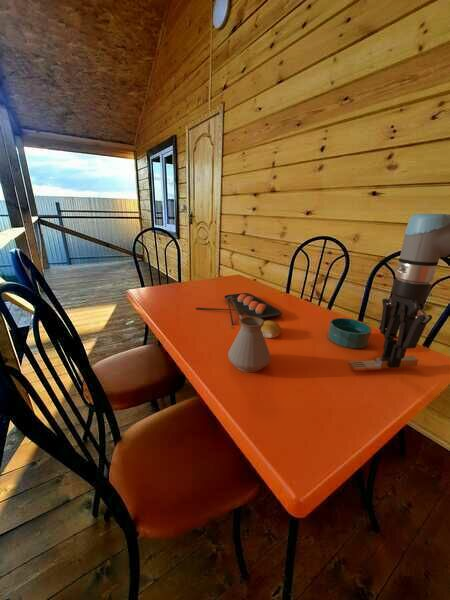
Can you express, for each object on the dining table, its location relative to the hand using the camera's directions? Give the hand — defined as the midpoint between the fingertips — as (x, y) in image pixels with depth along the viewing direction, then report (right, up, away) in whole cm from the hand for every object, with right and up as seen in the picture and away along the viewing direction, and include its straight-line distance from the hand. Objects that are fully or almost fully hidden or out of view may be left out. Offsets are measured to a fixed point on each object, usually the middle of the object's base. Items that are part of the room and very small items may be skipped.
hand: (389, 363), depth 69 cm
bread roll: (-30, +6, +18) cm, 36 cm away
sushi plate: (-41, +13, +38) cm, 57 cm away
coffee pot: (-40, +1, +5) cm, 41 cm away
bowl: (-4, +4, +15) cm, 16 cm away
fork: (-2, 0, 0) cm, 2 cm away
